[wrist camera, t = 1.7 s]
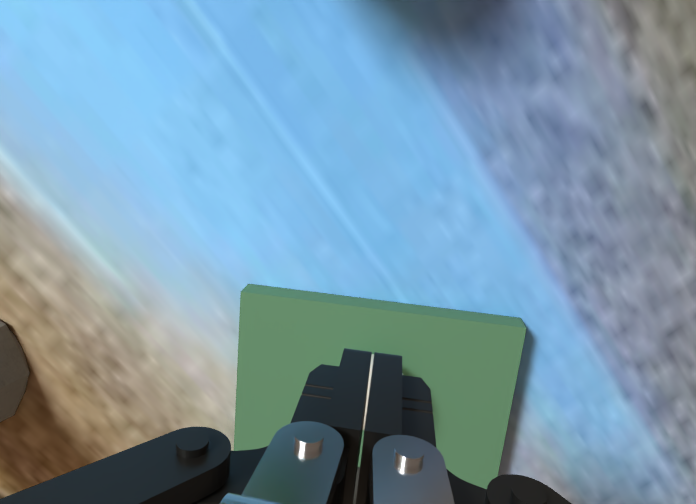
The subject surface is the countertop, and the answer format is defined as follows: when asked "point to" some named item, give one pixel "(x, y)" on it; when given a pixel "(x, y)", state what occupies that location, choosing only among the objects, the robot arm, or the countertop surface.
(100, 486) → the robot arm
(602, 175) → the countertop surface
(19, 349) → the coffeepot
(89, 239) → the countertop surface
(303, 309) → the putting board
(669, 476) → the countertop surface
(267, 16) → the countertop surface
